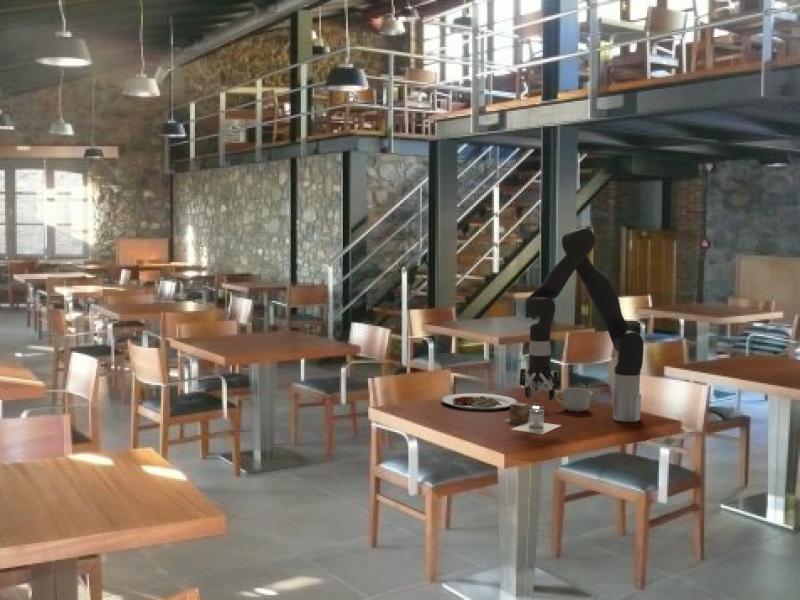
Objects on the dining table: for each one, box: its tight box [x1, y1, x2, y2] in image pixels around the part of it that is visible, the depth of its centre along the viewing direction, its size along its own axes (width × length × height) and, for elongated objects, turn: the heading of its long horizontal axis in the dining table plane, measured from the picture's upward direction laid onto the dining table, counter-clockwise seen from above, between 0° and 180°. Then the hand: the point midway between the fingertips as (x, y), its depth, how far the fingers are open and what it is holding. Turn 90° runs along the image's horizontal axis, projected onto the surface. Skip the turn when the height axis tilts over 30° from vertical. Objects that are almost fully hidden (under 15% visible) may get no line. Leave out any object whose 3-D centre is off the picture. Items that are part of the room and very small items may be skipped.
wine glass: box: [526, 367, 546, 410], centre depth 359 cm, size 8×8×15 cm
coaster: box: [502, 417, 529, 425], centre depth 332 cm, size 9×9×1 cm
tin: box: [528, 408, 546, 429], centre depth 321 cm, size 5×5×6 cm
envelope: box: [510, 422, 562, 435], centre depth 321 cm, size 12×17×1 cm
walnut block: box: [509, 401, 530, 422], centre depth 332 cm, size 5×5×6 cm
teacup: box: [554, 387, 592, 413], centre depth 355 cm, size 14×11×8 cm
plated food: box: [441, 392, 518, 411], centre depth 364 cm, size 30×30×3 cm
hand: (539, 398), depth 321 cm, fingers open, 8 cm apart
